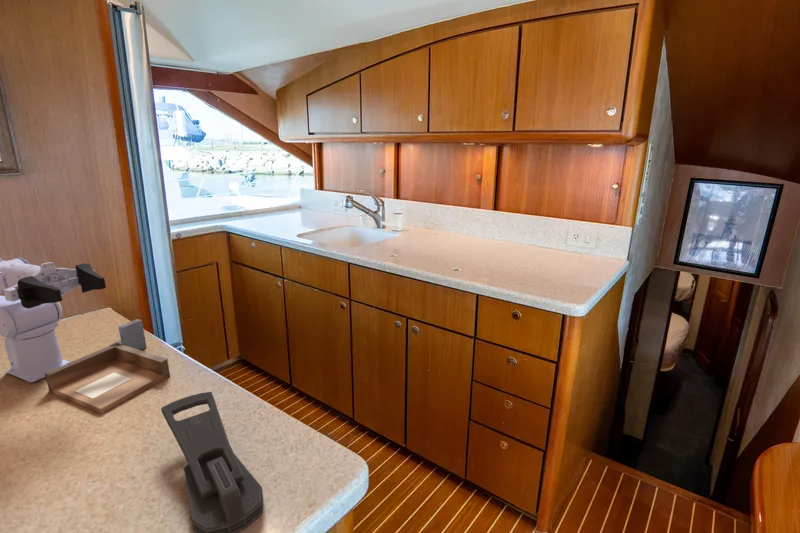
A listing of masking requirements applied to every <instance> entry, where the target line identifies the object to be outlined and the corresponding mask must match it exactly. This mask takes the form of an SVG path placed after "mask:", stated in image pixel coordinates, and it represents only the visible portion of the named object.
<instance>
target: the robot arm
mask: <svg viewBox="0 0 800 533" xmlns="http://www.w3.org/2000/svg"><path fill="white" fill-rule="evenodd" d="M78 286H80V287H81V292H82V294H84V293H87V292H90V291H93V290H94V291H95V290H96V291H97V290H103V289H106V288H107V286H106V281H105V278H104V277H103V276H101V275H100V274H98V273H97V272H96V270H95V269H94V268H92V266H91V264H90V263H80V264H76V265H75V268H74V269H73V268H65V267H56V265H55V263H54V262H51V261H48V262H44V263H41V264H40V265H36V264H31V263H30V262H29V261H27V260H26V259H24V258H23V257H19V256H18V257H16V258H14V259H9V260H2V258H0V294H2V293H3V294H4V295H0V336H1V337H3V338H4V342H3V344H4V347H5V348H4V349H5V351H6V352H5V353H6V355H7V358H8V363H9V366H10V368H7V369H6V370H5V373H7V374H10V375H12V376H14V377H17V378H19V379H21V380H24V381H26V382H28V383H34V382H37V381H40V380H41V379H44V378H46V377H45V373H47V372H49V371H51V370H54V369H56V368H58V367H61V366H63V365H65V364H68V363H70V362H71V361H68V360H66V359H63V354H62V351H61V348H60V344H59V340H58V335H57V331H56V328H57V327H59V324H58V322H60V321H61V319H62V318H63V317H62V316H63V308H62V305H61V303H60V302H62V301H63V296H65V295H66V294H68V293H69V292H71V291H72V290H74V289H75V288H77V287H78Z"/></svg>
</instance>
